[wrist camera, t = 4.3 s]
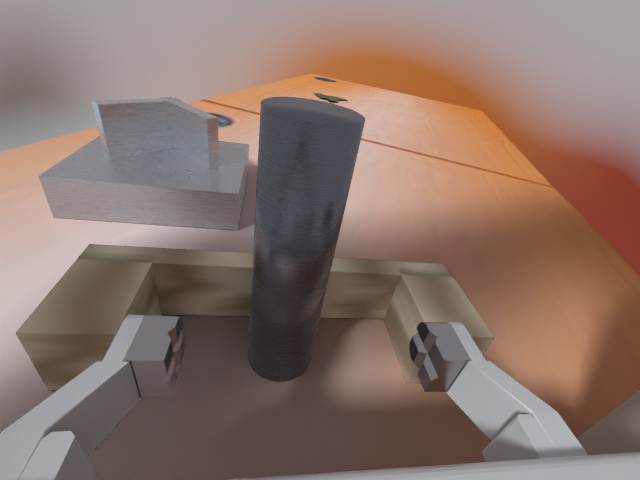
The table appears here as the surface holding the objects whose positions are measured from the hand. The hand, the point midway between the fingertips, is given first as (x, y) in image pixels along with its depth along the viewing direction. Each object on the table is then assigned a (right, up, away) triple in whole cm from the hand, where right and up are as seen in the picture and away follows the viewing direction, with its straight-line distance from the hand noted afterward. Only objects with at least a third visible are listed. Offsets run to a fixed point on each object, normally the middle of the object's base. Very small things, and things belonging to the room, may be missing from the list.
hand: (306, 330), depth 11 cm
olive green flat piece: (+3, +49, +91) cm, 103 cm away
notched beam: (-2, -4, +10) cm, 11 cm away
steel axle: (-2, -4, +9) cm, 11 cm away
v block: (-16, +8, +24) cm, 30 cm away
